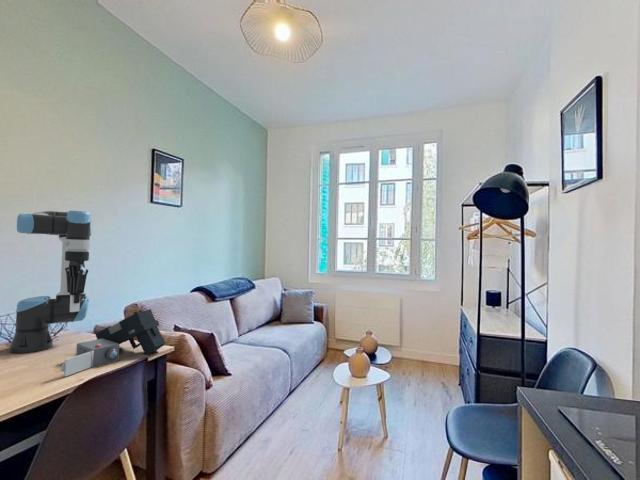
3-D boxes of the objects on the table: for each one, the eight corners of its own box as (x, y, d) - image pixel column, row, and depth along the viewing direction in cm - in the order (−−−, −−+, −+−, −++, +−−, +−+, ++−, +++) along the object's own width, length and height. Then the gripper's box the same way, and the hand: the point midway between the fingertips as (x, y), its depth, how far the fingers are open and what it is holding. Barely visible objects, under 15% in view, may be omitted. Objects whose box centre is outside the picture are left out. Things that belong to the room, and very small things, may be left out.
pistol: (155, 350, 146) (138, 309, 148) (107, 372, 151) (92, 331, 153) (168, 344, 156) (153, 305, 158) (124, 365, 160) (109, 327, 162)
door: (89, 366, 133) (90, 350, 133) (93, 366, 132) (94, 350, 132) (61, 376, 122) (61, 359, 122) (64, 377, 121) (65, 359, 121)
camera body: (75, 360, 139) (76, 341, 139) (101, 354, 148) (102, 336, 148) (95, 368, 131) (96, 348, 131) (121, 361, 140) (122, 342, 140)
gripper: (58, 249, 129) (55, 310, 128) (74, 251, 122) (71, 315, 122) (80, 250, 135) (77, 307, 135) (96, 251, 129) (93, 312, 128)
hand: (74, 311), depth 128 cm, fingers closed
